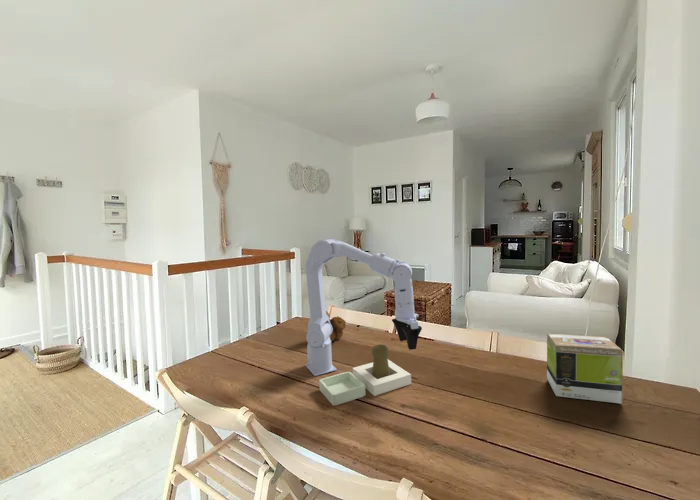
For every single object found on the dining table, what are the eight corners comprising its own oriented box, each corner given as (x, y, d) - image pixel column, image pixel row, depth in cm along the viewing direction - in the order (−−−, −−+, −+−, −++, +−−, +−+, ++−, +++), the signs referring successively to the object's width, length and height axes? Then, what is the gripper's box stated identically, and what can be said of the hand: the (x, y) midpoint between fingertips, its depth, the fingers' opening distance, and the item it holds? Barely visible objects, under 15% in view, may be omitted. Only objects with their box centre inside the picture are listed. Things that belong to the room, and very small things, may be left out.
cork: (390, 386, 96) (389, 350, 95) (370, 384, 97) (369, 349, 96) (391, 376, 102) (390, 342, 101) (372, 375, 103) (371, 341, 102)
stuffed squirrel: (311, 338, 138) (309, 308, 137) (343, 334, 142) (341, 304, 141) (314, 346, 129) (312, 314, 128) (348, 342, 132) (347, 310, 131)
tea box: (606, 386, 92) (608, 335, 91) (622, 405, 82) (625, 349, 81) (545, 379, 97) (546, 331, 95) (554, 397, 87) (556, 344, 86)
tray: (319, 389, 96) (318, 379, 96) (349, 380, 100) (349, 371, 100) (333, 406, 87) (332, 395, 87) (366, 395, 91) (365, 385, 91)
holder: (352, 376, 103) (352, 367, 102) (387, 367, 109) (386, 358, 108) (374, 396, 91) (374, 385, 91) (411, 383, 97) (411, 374, 97)
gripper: (426, 305, 93) (429, 351, 94) (407, 295, 107) (410, 335, 109) (403, 308, 92) (407, 354, 93) (387, 298, 106) (390, 338, 107)
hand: (407, 344), depth 101 cm, fingers open, 7 cm apart
